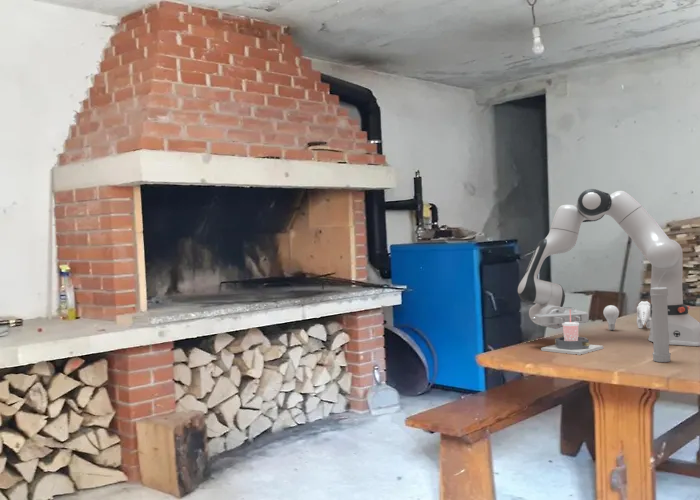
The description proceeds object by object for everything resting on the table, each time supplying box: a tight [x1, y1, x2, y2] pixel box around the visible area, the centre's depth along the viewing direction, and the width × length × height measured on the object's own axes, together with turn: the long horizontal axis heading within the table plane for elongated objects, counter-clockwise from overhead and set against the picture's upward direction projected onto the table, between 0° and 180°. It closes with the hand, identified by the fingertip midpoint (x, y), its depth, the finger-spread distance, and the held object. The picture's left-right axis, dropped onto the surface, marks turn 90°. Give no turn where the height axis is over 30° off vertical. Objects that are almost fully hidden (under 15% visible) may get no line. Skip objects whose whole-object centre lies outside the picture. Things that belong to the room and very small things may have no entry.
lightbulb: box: [602, 304, 620, 332], centre depth 292 cm, size 6×6×11 cm
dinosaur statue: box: [636, 300, 651, 330], centre depth 294 cm, size 7×24×11 cm, turn 154°
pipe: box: [649, 270, 672, 363], centre depth 225 cm, size 6×6×30 cm
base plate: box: [540, 343, 604, 356], centre depth 253 cm, size 16×16×1 cm
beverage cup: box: [562, 309, 580, 341], centre depth 253 cm, size 6×6×14 cm
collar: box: [554, 336, 591, 350], centre depth 253 cm, size 13×11×3 cm
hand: (570, 320), depth 252 cm, fingers closed on beverage cup, 5 cm apart
